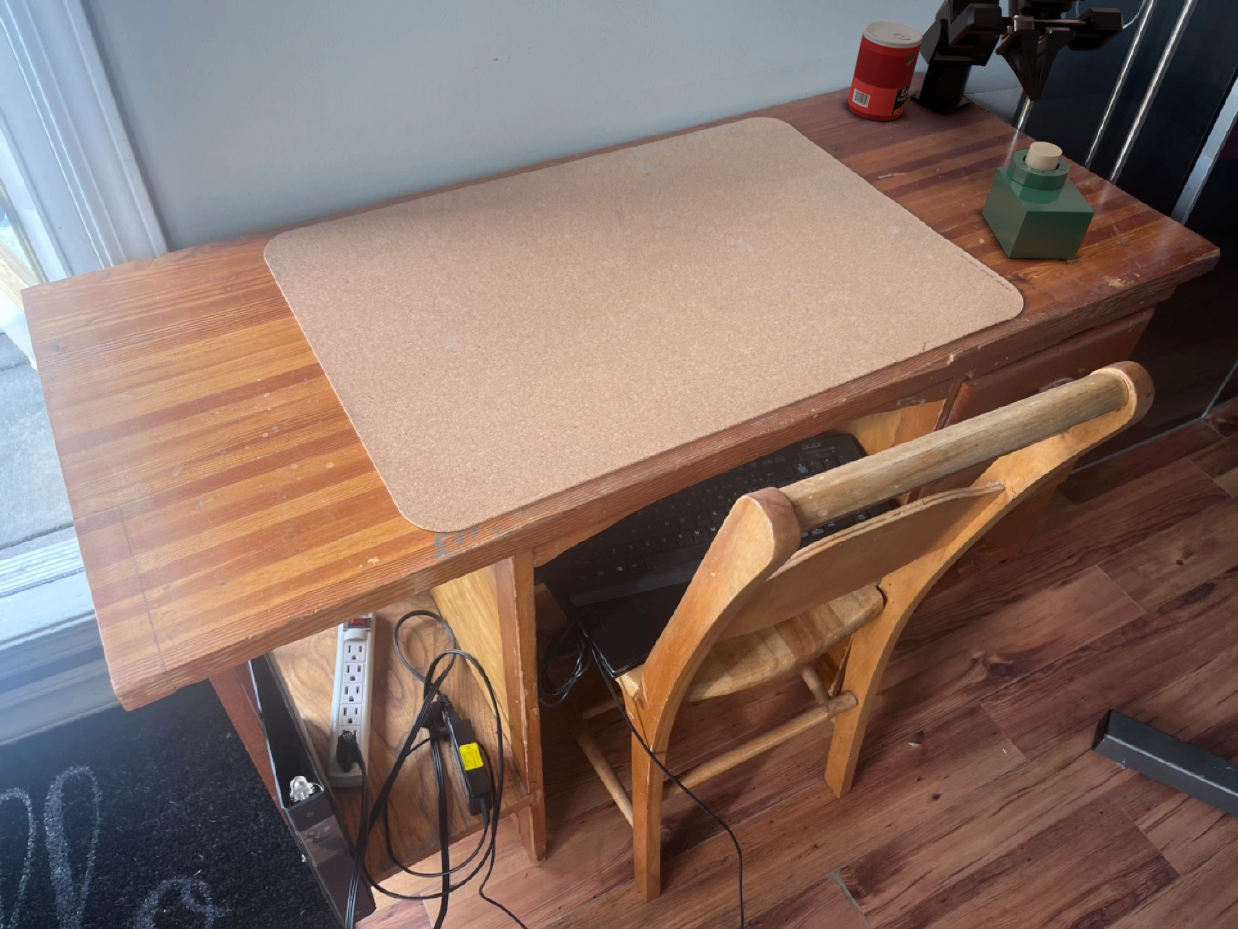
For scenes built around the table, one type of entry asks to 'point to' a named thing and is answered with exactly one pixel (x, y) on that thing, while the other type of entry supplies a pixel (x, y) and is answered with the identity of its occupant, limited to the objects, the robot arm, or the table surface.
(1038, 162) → the cream push button
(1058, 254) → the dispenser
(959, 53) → the robot arm
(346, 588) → the table surface
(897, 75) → the canned food
